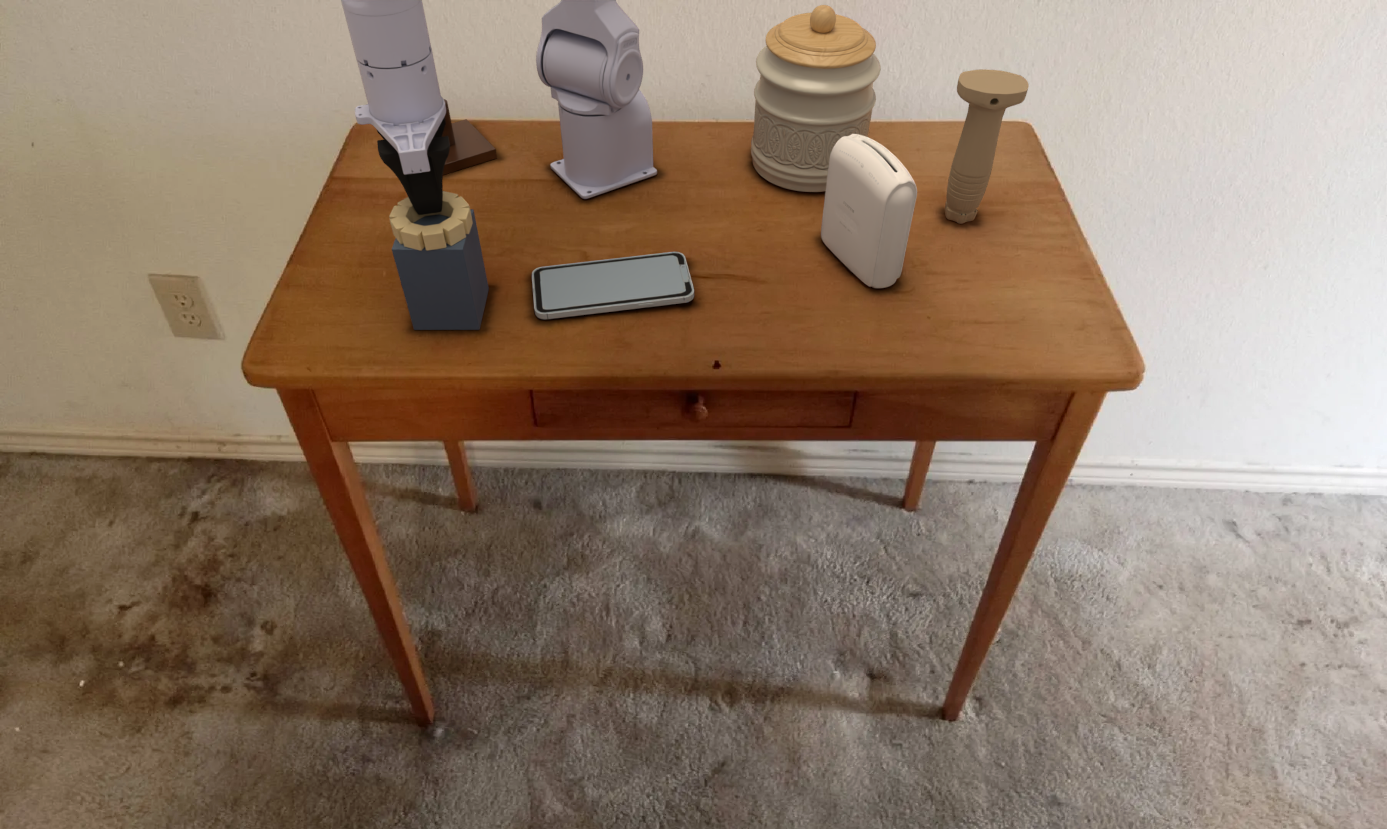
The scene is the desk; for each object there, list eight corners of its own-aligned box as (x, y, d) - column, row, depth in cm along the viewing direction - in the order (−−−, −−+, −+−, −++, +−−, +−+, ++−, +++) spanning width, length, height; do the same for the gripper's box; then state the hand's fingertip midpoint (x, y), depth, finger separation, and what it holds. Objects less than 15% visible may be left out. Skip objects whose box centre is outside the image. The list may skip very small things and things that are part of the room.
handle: (992, 231, 95) (1031, 95, 84) (929, 227, 96) (961, 91, 85) (987, 205, 99) (1025, 71, 88) (927, 201, 99) (956, 67, 88)
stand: (468, 128, 109) (459, 78, 105) (497, 158, 104) (488, 107, 100) (403, 147, 106) (391, 96, 101) (430, 178, 101) (419, 127, 97)
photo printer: (813, 238, 94) (826, 127, 85) (848, 227, 96) (865, 117, 87) (868, 295, 88) (889, 182, 79) (905, 283, 89) (930, 171, 80)
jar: (740, 186, 101) (748, 26, 88) (760, 128, 110) (770, -25, 97) (858, 202, 99) (884, 40, 86) (869, 141, 108) (894, -13, 95)
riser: (489, 288, 88) (473, 208, 82) (479, 330, 84) (462, 249, 77) (426, 288, 88) (405, 208, 82) (413, 330, 84) (391, 249, 77)
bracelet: (453, 197, 83) (450, 182, 82) (484, 234, 79) (481, 218, 78) (382, 220, 80) (378, 205, 79) (411, 260, 76) (407, 244, 75)
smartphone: (531, 267, 89) (683, 250, 91) (532, 275, 90) (683, 258, 91) (534, 315, 84) (695, 296, 86) (536, 323, 85) (696, 304, 86)
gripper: (338, 19, 75) (378, 167, 85) (341, 102, 65) (385, 258, 75) (427, 10, 76) (455, 157, 86) (442, 90, 66) (472, 245, 76)
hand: (428, 203), depth 81 cm, fingers closed on bracelet, 2 cm apart
